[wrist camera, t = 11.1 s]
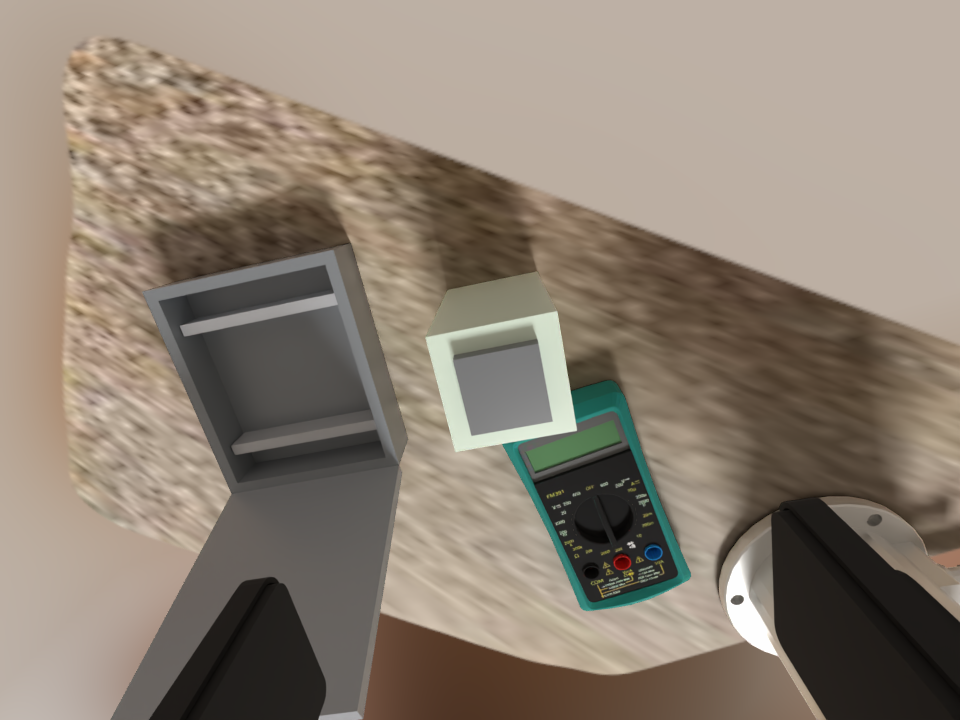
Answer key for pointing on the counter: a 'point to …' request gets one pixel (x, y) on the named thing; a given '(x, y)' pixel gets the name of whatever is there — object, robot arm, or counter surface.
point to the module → (501, 363)
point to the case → (283, 369)
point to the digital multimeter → (601, 504)
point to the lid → (289, 581)
